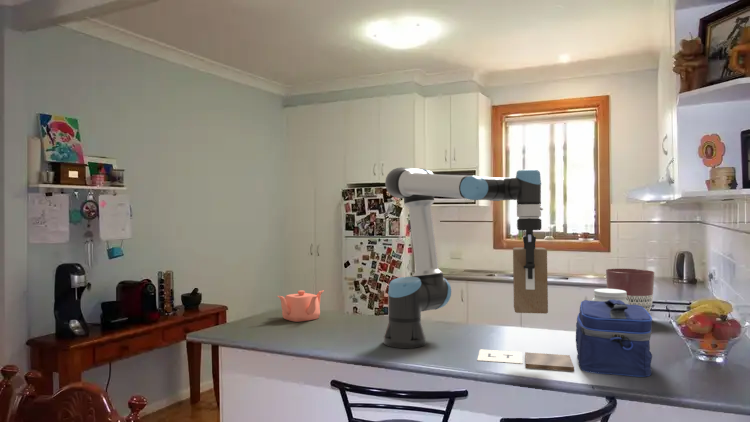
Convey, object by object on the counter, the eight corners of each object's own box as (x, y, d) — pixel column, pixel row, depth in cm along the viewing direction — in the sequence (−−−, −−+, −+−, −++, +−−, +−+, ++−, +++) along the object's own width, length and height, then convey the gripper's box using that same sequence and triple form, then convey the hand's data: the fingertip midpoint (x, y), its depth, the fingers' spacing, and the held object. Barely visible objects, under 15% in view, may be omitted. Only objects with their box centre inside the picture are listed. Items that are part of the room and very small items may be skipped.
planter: (658, 324, 232) (658, 274, 232) (608, 322, 238) (608, 272, 238) (649, 316, 251) (649, 269, 251) (603, 313, 257) (603, 267, 256)
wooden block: (548, 313, 171) (547, 249, 171) (514, 313, 173) (513, 249, 173) (545, 308, 180) (544, 247, 181) (513, 307, 182) (512, 247, 183)
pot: (316, 323, 233) (317, 294, 233) (276, 322, 234) (276, 293, 234) (324, 315, 251) (324, 288, 251) (286, 314, 252) (286, 287, 252)
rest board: (525, 367, 169) (525, 363, 169) (525, 355, 183) (525, 352, 183) (574, 371, 166) (574, 367, 166) (569, 358, 179) (569, 355, 179)
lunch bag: (659, 383, 155) (659, 310, 155) (579, 376, 161) (580, 306, 161) (640, 355, 185) (640, 294, 185) (573, 350, 191) (574, 291, 191)
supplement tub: (594, 334, 215) (594, 287, 215) (630, 338, 208) (630, 289, 208) (588, 341, 203) (589, 291, 203) (626, 345, 197) (627, 294, 197)
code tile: (477, 360, 177) (477, 359, 177) (480, 349, 190) (480, 349, 190) (522, 363, 173) (522, 363, 173) (521, 352, 187) (521, 352, 187)
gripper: (542, 218, 165) (543, 292, 165) (540, 217, 187) (541, 283, 187) (516, 218, 167) (517, 291, 167) (517, 217, 189) (518, 282, 189)
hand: (530, 287), depth 177 cm, fingers closed on wooden block, 10 cm apart
